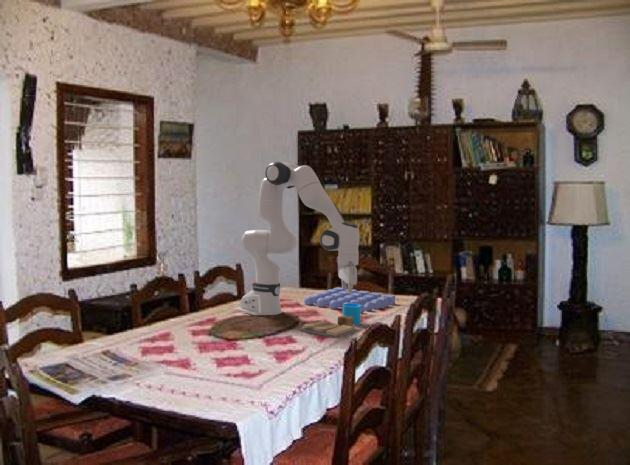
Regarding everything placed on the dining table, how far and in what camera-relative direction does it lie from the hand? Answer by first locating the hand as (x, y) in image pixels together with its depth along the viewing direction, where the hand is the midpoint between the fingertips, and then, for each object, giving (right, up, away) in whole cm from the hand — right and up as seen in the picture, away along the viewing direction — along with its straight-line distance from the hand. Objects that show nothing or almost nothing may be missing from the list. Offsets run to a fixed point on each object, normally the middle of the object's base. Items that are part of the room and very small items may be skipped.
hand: (346, 291), depth 301 cm
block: (-1, -16, +2) cm, 16 cm away
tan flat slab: (-11, -15, -5) cm, 19 cm away
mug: (+3, -15, +13) cm, 20 cm away
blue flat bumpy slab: (+4, -12, +53) cm, 55 cm away
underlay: (-9, -16, -6) cm, 20 cm away
